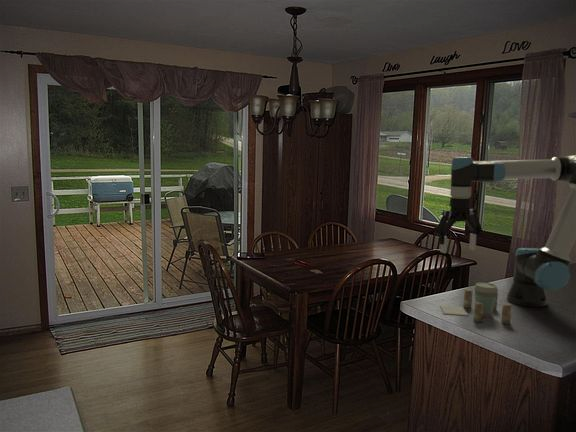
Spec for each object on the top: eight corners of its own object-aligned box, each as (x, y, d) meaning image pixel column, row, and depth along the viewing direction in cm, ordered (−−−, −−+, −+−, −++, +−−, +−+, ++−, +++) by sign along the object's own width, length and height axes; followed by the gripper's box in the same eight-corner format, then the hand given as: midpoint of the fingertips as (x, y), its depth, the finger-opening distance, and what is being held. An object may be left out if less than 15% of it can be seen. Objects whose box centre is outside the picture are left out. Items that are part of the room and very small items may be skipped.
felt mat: (463, 308, 194) (463, 307, 194) (467, 315, 185) (467, 314, 185) (440, 306, 195) (440, 305, 195) (443, 314, 187) (443, 313, 187)
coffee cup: (493, 320, 181) (496, 289, 179) (470, 315, 185) (472, 285, 184) (497, 313, 188) (500, 284, 186) (474, 309, 192) (476, 280, 191)
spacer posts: (497, 307, 195) (498, 291, 194) (511, 325, 176) (513, 306, 175) (462, 305, 197) (463, 289, 196) (473, 322, 178) (474, 304, 177)
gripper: (480, 195, 192) (477, 247, 195) (426, 197, 185) (424, 251, 188) (493, 197, 185) (490, 250, 188) (438, 199, 177) (436, 255, 181)
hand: (457, 251), depth 188 cm, fingers open, 13 cm apart
